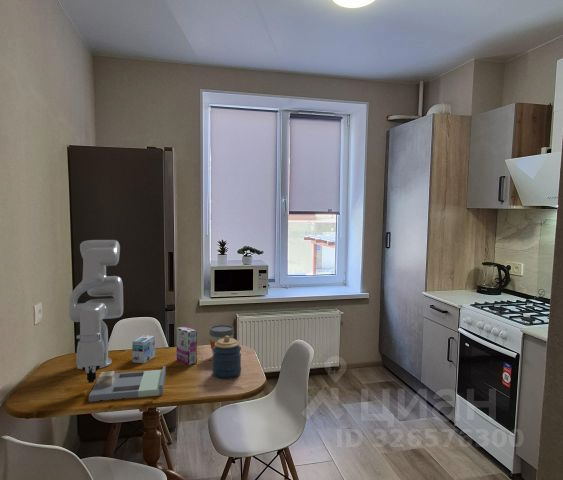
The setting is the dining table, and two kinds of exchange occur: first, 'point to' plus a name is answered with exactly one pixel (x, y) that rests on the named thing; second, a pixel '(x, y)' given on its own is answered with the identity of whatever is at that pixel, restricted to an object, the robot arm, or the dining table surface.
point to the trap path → (131, 385)
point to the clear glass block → (106, 378)
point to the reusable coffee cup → (220, 333)
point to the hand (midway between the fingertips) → (91, 381)
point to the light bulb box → (143, 349)
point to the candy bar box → (187, 345)
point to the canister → (226, 358)
